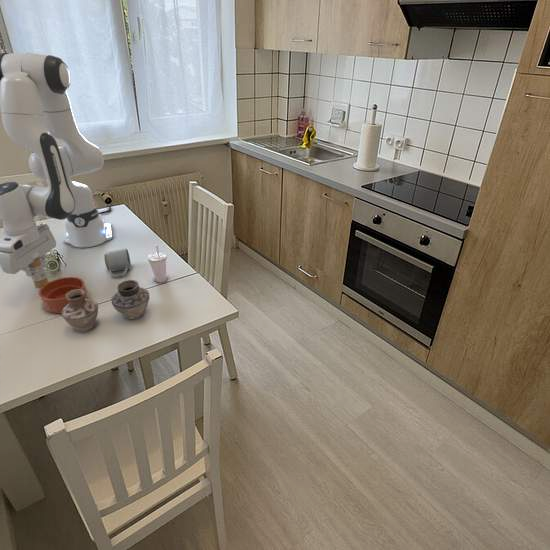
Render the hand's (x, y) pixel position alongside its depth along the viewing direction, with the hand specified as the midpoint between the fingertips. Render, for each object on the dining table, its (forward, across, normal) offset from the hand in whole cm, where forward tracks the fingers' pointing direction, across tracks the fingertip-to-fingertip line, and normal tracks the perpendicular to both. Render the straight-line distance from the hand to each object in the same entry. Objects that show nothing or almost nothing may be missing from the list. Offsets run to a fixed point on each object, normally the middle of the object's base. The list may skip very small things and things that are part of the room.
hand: (37, 271), depth 132 cm
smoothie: (+7, -15, +37) cm, 41 cm away
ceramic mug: (+7, -17, +20) cm, 27 cm away
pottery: (+7, +10, +33) cm, 35 cm away
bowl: (+7, +5, +13) cm, 16 cm away
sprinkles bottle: (+6, 0, 0) cm, 6 cm away
